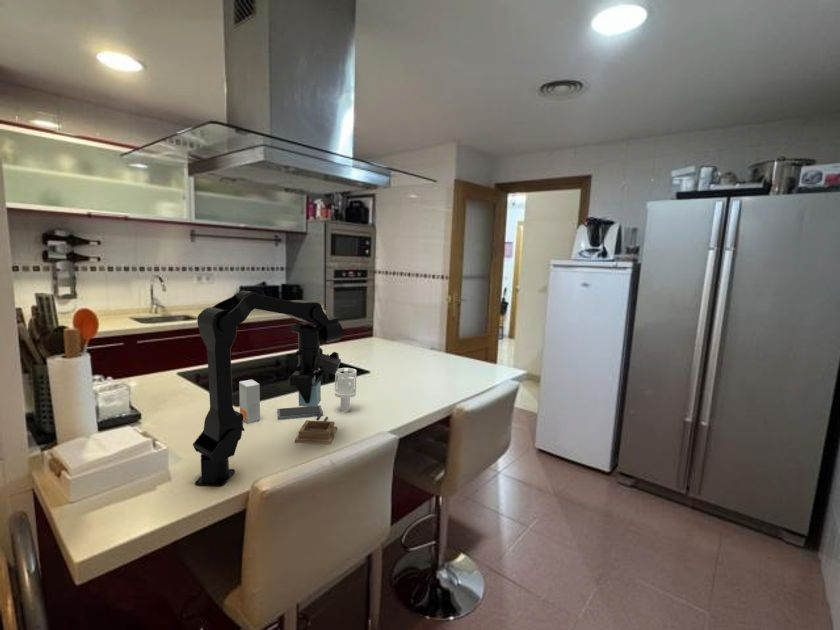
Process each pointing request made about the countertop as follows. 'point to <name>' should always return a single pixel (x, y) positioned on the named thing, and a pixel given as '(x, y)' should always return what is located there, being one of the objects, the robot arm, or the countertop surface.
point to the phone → (299, 412)
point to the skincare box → (249, 400)
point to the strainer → (345, 387)
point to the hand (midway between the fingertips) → (309, 399)
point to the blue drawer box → (312, 396)
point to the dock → (316, 432)
